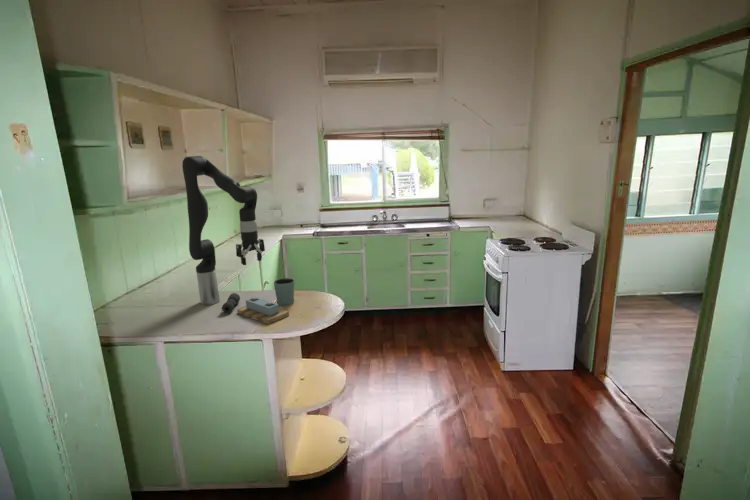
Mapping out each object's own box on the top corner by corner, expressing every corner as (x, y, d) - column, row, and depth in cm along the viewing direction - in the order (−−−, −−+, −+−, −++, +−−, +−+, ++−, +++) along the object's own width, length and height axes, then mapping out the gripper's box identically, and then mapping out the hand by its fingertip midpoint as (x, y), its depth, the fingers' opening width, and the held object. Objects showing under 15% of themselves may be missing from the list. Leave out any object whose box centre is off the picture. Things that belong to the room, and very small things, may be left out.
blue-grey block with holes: (246, 307, 199) (245, 300, 198) (255, 304, 203) (255, 296, 202) (269, 316, 188) (268, 307, 187) (279, 312, 192) (278, 304, 191)
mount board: (237, 313, 199) (235, 299, 197) (258, 305, 208) (256, 292, 206) (268, 324, 185) (266, 310, 183) (289, 315, 194) (287, 301, 192)
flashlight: (233, 313, 199) (231, 303, 198) (221, 314, 199) (220, 304, 197) (240, 302, 214) (239, 292, 212) (230, 302, 213) (229, 293, 212)
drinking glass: (272, 303, 210) (269, 281, 207) (288, 298, 217) (286, 276, 214) (283, 308, 203) (280, 285, 200) (300, 302, 210) (298, 280, 207)
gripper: (256, 226, 199) (259, 258, 203) (230, 231, 188) (234, 264, 193) (266, 228, 195) (268, 260, 199) (240, 233, 184) (243, 267, 188)
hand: (251, 262), depth 196 cm, fingers open, 8 cm apart
